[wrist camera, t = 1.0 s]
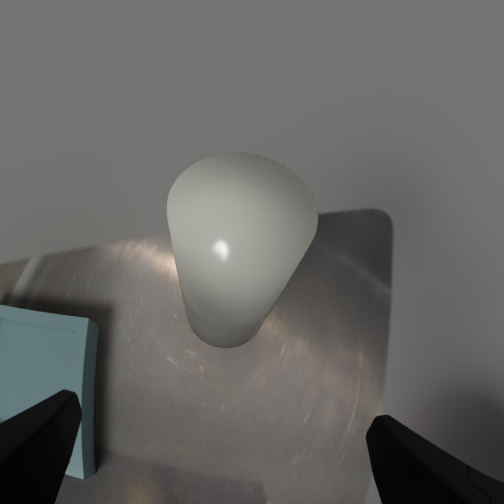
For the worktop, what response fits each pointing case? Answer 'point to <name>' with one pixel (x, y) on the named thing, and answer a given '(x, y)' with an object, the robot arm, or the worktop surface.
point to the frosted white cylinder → (237, 241)
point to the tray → (50, 370)
